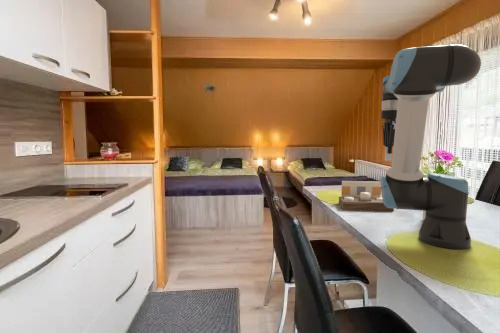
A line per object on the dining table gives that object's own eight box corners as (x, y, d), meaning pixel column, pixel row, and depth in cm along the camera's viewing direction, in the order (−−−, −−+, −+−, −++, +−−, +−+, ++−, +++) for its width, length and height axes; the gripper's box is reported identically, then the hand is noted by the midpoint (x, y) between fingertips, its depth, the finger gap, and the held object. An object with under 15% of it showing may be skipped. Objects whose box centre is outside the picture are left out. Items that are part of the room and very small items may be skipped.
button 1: (387, 208, 145) (388, 199, 144) (377, 207, 145) (378, 199, 145) (384, 205, 149) (385, 197, 149) (374, 205, 150) (375, 197, 149)
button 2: (371, 202, 145) (371, 194, 145) (361, 202, 146) (361, 193, 146) (368, 200, 150) (369, 192, 150) (359, 200, 151) (359, 191, 150)
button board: (393, 211, 141) (394, 203, 140) (342, 209, 144) (343, 201, 144) (385, 205, 153) (385, 197, 152) (338, 203, 156) (338, 196, 155)
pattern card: (380, 203, 156) (381, 181, 154) (341, 202, 158) (341, 181, 157) (379, 203, 157) (380, 181, 156) (340, 202, 160) (341, 180, 158)
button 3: (354, 207, 147) (354, 198, 146) (344, 206, 147) (345, 198, 147) (352, 204, 151) (352, 196, 151) (343, 204, 152) (343, 196, 152)
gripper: (404, 108, 129) (402, 161, 131) (393, 111, 142) (390, 159, 144) (387, 108, 129) (385, 161, 131) (377, 111, 142) (375, 159, 144)
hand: (388, 160), depth 137 cm, fingers closed
